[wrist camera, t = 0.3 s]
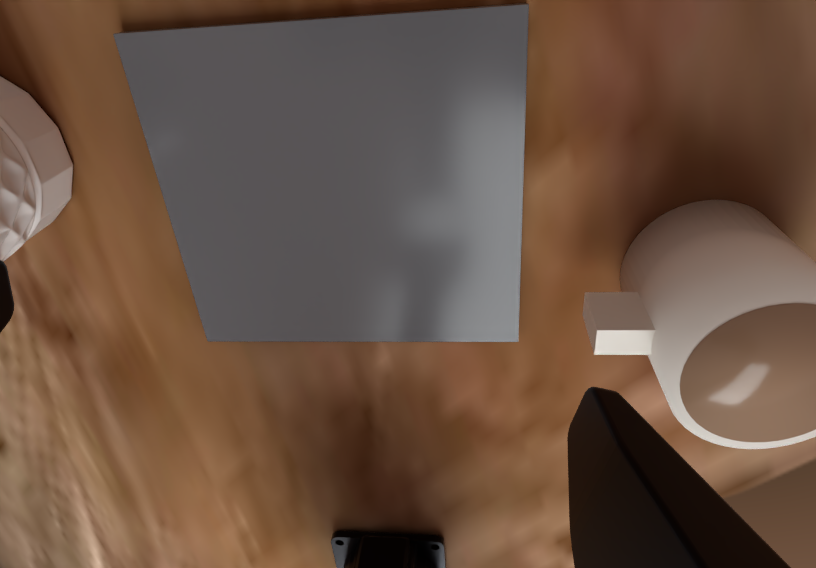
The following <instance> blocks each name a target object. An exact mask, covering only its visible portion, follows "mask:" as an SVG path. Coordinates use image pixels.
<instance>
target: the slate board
mask: <svg viewBox="0 0 816 568" xmlns="http://www.w3.org/2000/svg"><path fill="white" fill-rule="evenodd" d="M528 11H529V4H528V3H519V4H505V5H491V6H477V7H463V8H449V9H435V10H421V11H407V12H393V13H379V14H365V15H351V16H337V17H323V18H309V19H295V20H281V21H267V22H253V23H239V24H225V25H211V26H197V27H183V28H169V29H155V30H141V31H127V32H120V33H115V34H113V35H114V38H115V41H116V45H117V48H118V51H119V54H120V58H121V61H122V64H123V67H124V71H125V74H126V77H127V80H128V84H129V87H130V90H131V93H132V97H133V100H134V103H135V106H136V110H137V113H138V116H139V119H140V123H141V126H142V129H143V132H144V136H145V139H146V142H147V146H148V149H149V152H150V155H151V159H152V162H153V165H154V168H155V172H156V175H157V178H158V181H159V185H160V188H161V191H162V194H163V198H164V201H165V204H166V207H167V211H168V214H169V217H170V220H171V224H172V227H173V230H174V233H175V237H176V240H177V243H178V246H179V250H180V253H181V256H182V259H183V263H184V266H185V269H186V272H187V276H188V279H189V282H190V286H191V289H192V292H193V295H194V299H195V302H196V305H197V308H198V312H199V315H200V318H201V321H202V325H203V328H204V331H205V334H206V338H207V341H280V342H518V335H519V303H520V270H521V238H522V206H523V173H524V141H525V108H526V76H527V44H528Z"/></svg>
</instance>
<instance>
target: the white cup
mask: <svg viewBox="0 0 816 568" xmlns="http://www.w3.org/2000/svg"><path fill="white" fill-rule="evenodd" d="M72 176H73V164H72V161H71V159H70V156H69V154H68V151H67V149H66V146H65V143H64V141H63V138H62V136H61V133H60V131H59V129H58V127H57V126H56V125H55V123H54V122H53V121H52V120H51V119H50V118H49V116H48V115H47V114H46V113H45V112H44V111H43V109H42V108H41V107H40V106H39V105H38V104H37V102H36V101H35V100H34V99H33V98H32V97H31V95H30V94H29V93H27V92H26V91H24V90H22V89H21V88H19V87H17V86H16V85H14V84H12V83H11V82H9V81H8V80H6V79H4V78H3V77H1V76H0V260H2V261H3V262H4V261H5V260H6V259H7V258H8V257H10V256H11V255H12V254H13V253H14V252H16V251H17V250H18V249H19V248H20V247H21V246H22V245H23V244H24V243H25V242H26V241H27V240H28V239H30V238H31V237H32V236H34V235H35V234H37V233H38V232H39V231H41V230H42V229H44V228H45V227H46V226H48V225H49V224H50V223H52V222H53V221H54V220H55V219H56V217H57V216H58V215H59V213H60V212H61V211H62V210H63V208H64V207H65V206H66V204H67V203H68V202H69V200H70V199H71V194H72Z"/></svg>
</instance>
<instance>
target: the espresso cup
mask: <svg viewBox="0 0 816 568" xmlns="http://www.w3.org/2000/svg"><path fill="white" fill-rule="evenodd" d="M620 287H621V292H585V297H584V307H583V318H584V321H585V325H586V328H587V332H588V335H589V338H590V342H591V345H592V349H593V352H594V355H648V357H649V359H650V361H651V364H652V366H653V368H654V371H655V373H656V376H657V378H658V380H659V383H660V385H661V387H662V390H663V392H664V394H665V397H666V399H667V401H668V404H669V406H670V408H671V410H672V412H673V414H674V415H675V417H676V418H677V420H678V421H679V422H680V423H681V424H682V425H683V426H684V427H685V428H686V429H688V430H689V431H690V432H692V433H693V434H695V435H696V436H698V437H700V438H702V439H704V440H707V441H709V442H712V443H715V444H718V445H722V446H726V447H733V448H741V449H766V448H775V447H781V446H786V445H791V444H794V443H798V442H802V441H805V440H807V439H810V438H813V437H816V262H815V261H813V260H812V259H811V258H810V257H809V256H808V255H807V254H806V253H805V252H804V251H803V250H802V249H800V248H799V247H798V246H797V245H796V244H795V243H794V242H793V241H792V240H791V239H790V238H789V237H787V236H786V235H785V234H784V233H783V232H782V231H781V230H780V229H779V228H778V227H777V226H776V225H774V224H773V223H772V222H771V221H770V220H769V219H768V218H767V217H766V216H765V215H764V214H762V213H761V212H759V211H758V210H756V209H754V208H752V207H750V206H748V205H746V204H742V203H739V202H735V201H728V200H704V201H698V202H693V203H689V204H686V205H683V206H680V207H677V208H675V209H673V210H670V211H669V212H667V213H665V214H663V215H661V216H660V217H658V218H657V219H655V220H654V221H653V222H651V223H650V224H649V225H648V226H646V227H645V228H644V229H643V230H642V231H641V232H640V233H639V234H638V236H637V237H636V238H635V239H634V241H633V242H632V243H631V245H630V246H629V248H628V250H627V252H626V254H625V256H624V259H623V262H622V266H621V270H620Z"/></svg>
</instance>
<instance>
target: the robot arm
mask: <svg viewBox="0 0 816 568" xmlns="http://www.w3.org/2000/svg"><path fill="white" fill-rule="evenodd" d="M13 311H14V301H13V296H12V291H11V286H10V281H9V276H8V271H7V267H6V265H5V264H4V262H3V261H2V260H0V333H1V331H2V330H3V329H4V327H5V326H6V325H7V323H8V322H9V321H10V319H11V317H12V314H13ZM568 478H569V517H570V534H571V543H572V551H573V558H574V565H575V568H791V567H790V566H789V565H788V564H787V563H786V562H785V561H784V560H783V559H782V558H780V556H779V555H778V554H777V553H776V552H775V551H774V550H773V549H772V548H771V547H770V546H769V545H768V544H767V543H766V542H765V541H764V540H763V539H762V538H761V537H760V536H759V535H758V534H757V533H756V532H755V531H754V530H753V529H752V528H751V527H750V526H749V525H748V524H747V523H746V522H745V521H744V520H743V519H742V518H741V517H740V516H739V515H738V514H737V513H736V512H735V511H734V510H733V509H732V508H731V507H730V506H729V504H727V502H726V501H725V500H724V499H723V498H722V497H721V496H720V495H719V494H718V493H717V492H716V491H715V490H714V489H713V488H712V487H711V486H710V485H709V484H708V483H707V482H706V481H705V480H704V479H703V478H702V477H701V476H700V475H699V474H698V473H697V472H696V471H695V470H694V469H693V468H692V467H691V466H690V465H689V464H688V463H687V462H686V461H685V460H684V459H683V458H682V457H681V456H680V455H679V454H678V453H677V452H676V451H675V450H674V449H673V448H672V447H671V446H670V445H669V444H668V443H667V442H666V441H665V440H664V439H663V438H662V437H661V436H660V435H659V434H658V433H657V432H656V431H655V429H654V428H653V427H652V426H651V425H650V424H649V423H648V422H647V421H646V420H645V419H644V418H643V417H642V416H641V415H640V414H639V413H638V412H637V411H636V410H635V409H634V408H633V407H632V406H631V405H630V404H629V403H628V402H627V401H626V400H625V399H624V398H623V397H622V396H621V395H620V394H619V393H617V392H615V391H612V390H607V389H603V388H598V387H591V388H589V389H588V390H587V391H586V392H585V394H584V396H583V398H582V400H581V403H580V405H579V407H578V409H577V411H576V413H575V416H574V418H573V420H572V422H571V424H570V427H569V432H568ZM331 544H332V548H333V553H334V557H335V562H336V567H337V568H446V559H445V543H444V539H443V538H442V537H440V536H437V535H419V534H396V533H373V532H350V531H336V532H334V533H333V535H332V540H331Z"/></svg>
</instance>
